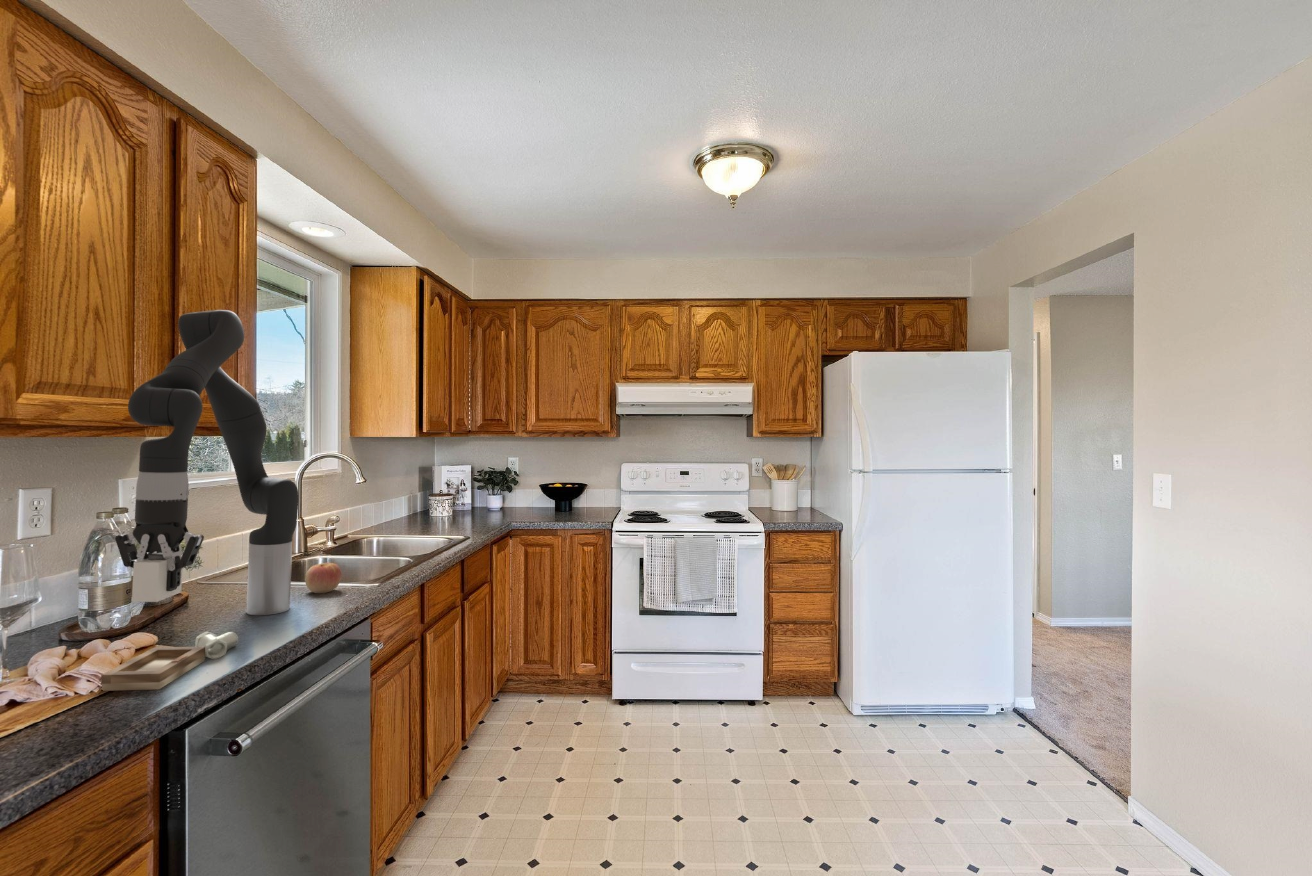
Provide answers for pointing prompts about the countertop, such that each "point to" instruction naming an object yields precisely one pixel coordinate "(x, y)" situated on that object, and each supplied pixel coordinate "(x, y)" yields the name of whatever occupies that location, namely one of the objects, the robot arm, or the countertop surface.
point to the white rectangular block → (151, 579)
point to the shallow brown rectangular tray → (153, 668)
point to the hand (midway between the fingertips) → (158, 589)
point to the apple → (323, 577)
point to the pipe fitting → (216, 643)
